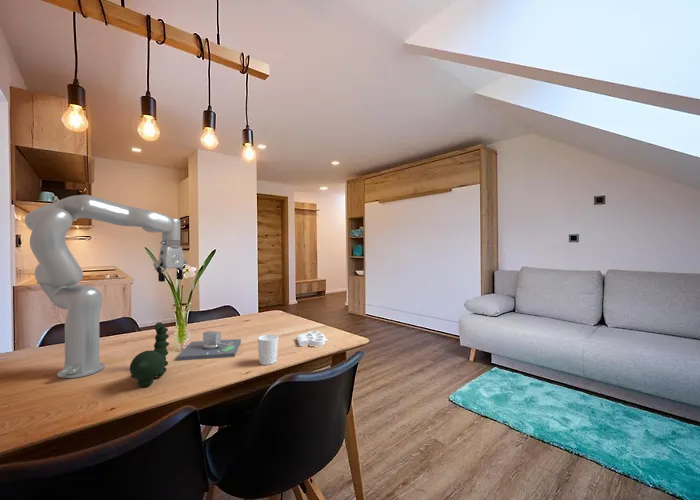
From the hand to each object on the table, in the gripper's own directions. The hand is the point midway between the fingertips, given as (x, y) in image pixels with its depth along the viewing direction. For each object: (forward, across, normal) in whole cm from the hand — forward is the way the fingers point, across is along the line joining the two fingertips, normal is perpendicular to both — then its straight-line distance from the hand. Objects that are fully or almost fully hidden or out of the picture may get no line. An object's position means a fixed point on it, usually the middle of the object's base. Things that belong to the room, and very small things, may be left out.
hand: (170, 280), depth 142 cm
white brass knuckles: (+31, +25, -62) cm, 73 cm away
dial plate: (+30, 0, -24) cm, 39 cm away
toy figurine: (+31, -30, -26) cm, 50 cm away
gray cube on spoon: (+29, -1, -28) cm, 40 cm away
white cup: (+31, -4, -56) cm, 64 cm away
